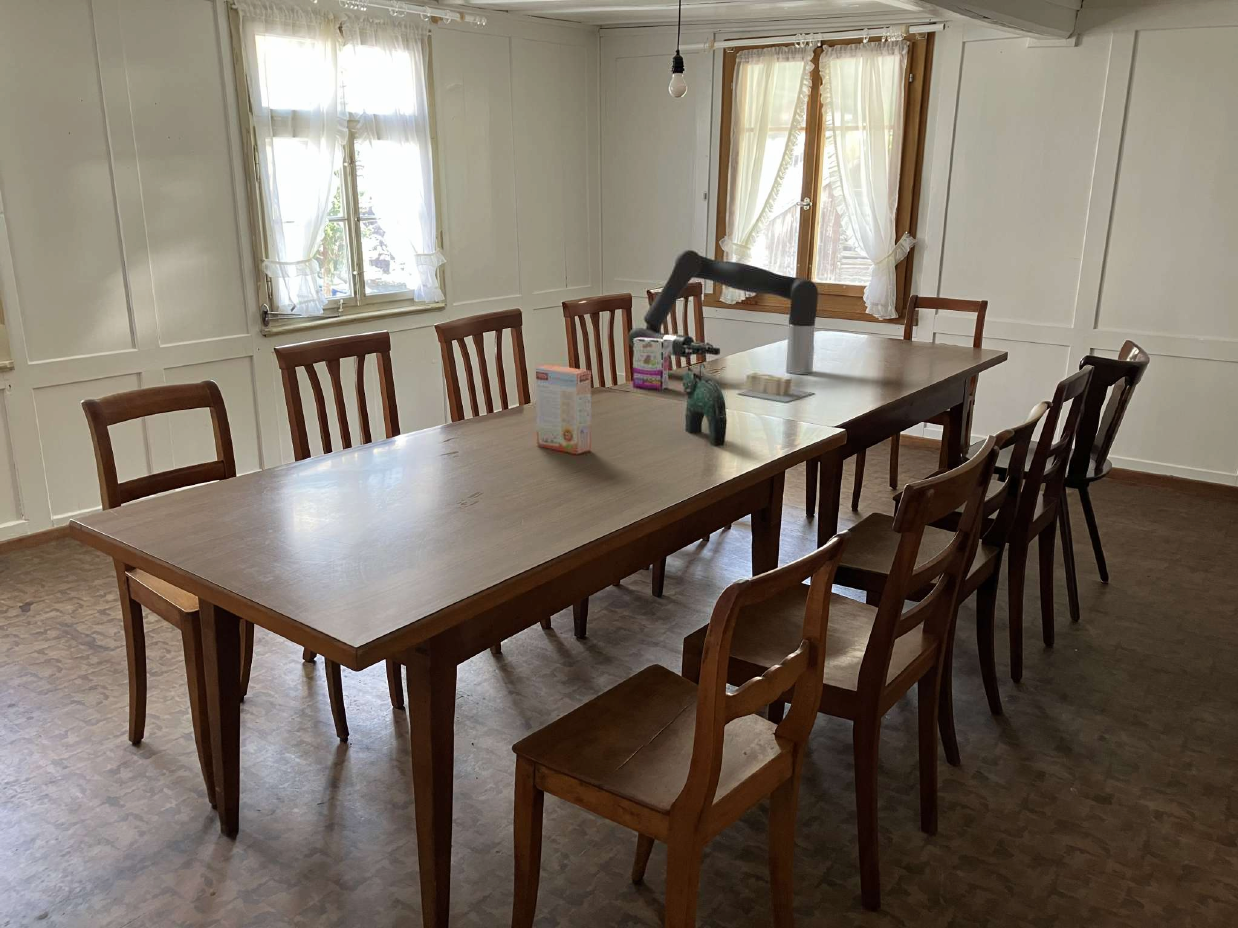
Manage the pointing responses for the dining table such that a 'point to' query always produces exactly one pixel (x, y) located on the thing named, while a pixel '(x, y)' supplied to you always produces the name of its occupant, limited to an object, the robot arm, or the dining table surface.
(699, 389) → the green animal figurine
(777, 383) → the birch block
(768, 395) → the slate rubber mat
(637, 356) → the candy bar box
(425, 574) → the dining table surface
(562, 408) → the cracker box
